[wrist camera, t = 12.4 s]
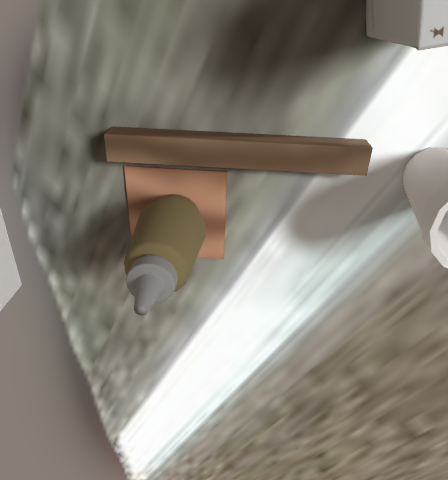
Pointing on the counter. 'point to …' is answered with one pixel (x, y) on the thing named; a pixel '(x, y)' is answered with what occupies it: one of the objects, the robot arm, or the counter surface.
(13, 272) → the robot arm
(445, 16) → the skincare box
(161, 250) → the squeeze bottle
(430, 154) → the foam cup
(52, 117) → the counter surface
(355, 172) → the rail
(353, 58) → the counter surface
